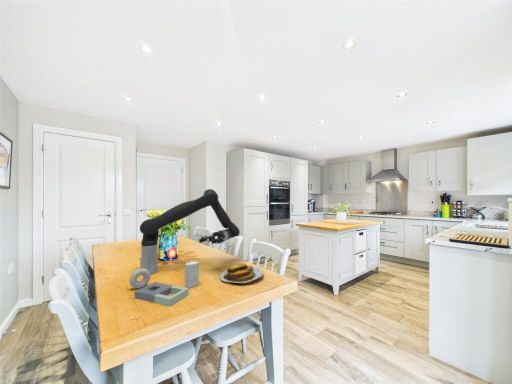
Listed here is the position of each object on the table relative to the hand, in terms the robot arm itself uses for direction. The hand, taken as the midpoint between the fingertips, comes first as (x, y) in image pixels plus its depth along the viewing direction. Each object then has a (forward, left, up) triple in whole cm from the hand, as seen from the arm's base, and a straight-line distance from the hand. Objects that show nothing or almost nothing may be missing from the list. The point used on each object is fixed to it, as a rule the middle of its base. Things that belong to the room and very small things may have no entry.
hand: (205, 241), depth 125 cm
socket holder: (-6, -27, -21) cm, 34 cm away
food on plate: (+19, +9, -22) cm, 30 cm away
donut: (-24, -24, -21) cm, 40 cm away
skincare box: (-1, -12, -21) cm, 24 cm away
